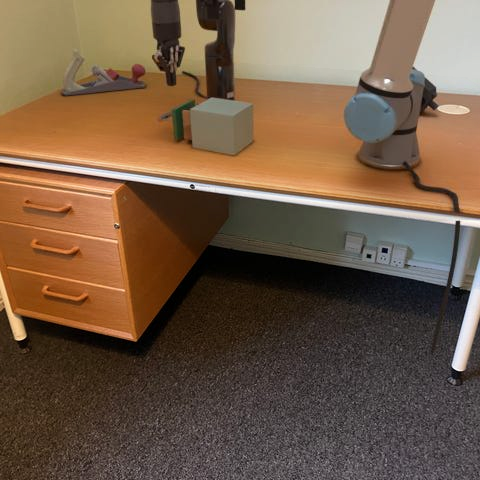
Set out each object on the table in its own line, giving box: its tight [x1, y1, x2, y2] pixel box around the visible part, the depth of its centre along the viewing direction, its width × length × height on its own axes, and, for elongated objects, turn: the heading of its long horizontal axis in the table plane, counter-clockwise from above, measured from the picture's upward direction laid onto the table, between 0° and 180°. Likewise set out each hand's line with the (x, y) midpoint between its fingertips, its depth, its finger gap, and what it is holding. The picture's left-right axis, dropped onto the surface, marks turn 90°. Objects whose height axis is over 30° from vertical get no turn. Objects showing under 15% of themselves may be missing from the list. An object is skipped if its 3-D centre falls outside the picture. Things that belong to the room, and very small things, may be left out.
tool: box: [412, 66, 439, 113], centre depth 169 cm, size 6×19×15 cm, turn 51°
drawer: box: [156, 98, 201, 141], centre depth 151 cm, size 18×10×9 cm, turn 62°
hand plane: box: [61, 48, 146, 96], centre depth 194 cm, size 7×31×15 cm, turn 107°
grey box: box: [190, 97, 254, 156], centre depth 147 cm, size 13×12×11 cm
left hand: (171, 85), depth 148 cm, fingers closed
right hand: (227, 14), depth 131 cm, fingers open, 13 cm apart
